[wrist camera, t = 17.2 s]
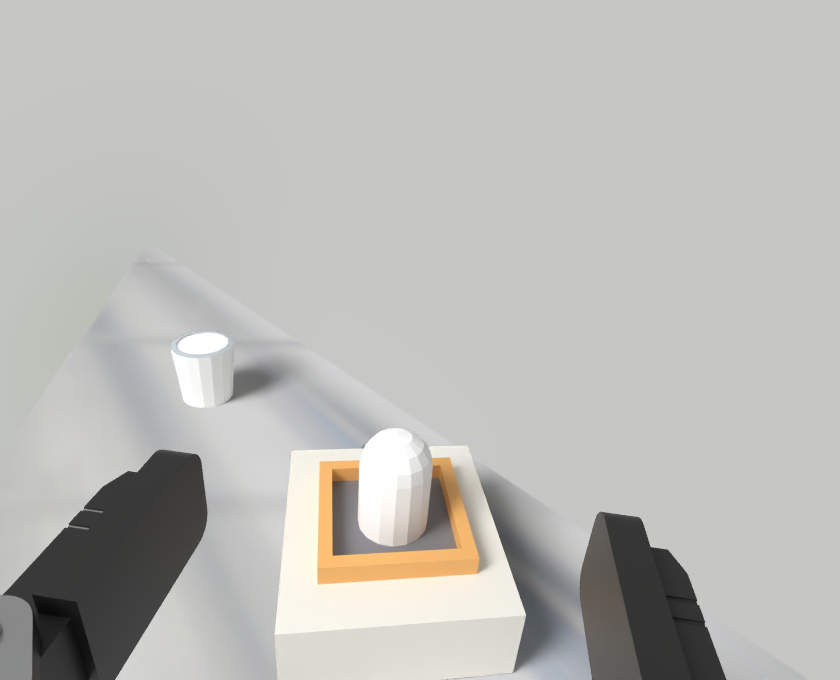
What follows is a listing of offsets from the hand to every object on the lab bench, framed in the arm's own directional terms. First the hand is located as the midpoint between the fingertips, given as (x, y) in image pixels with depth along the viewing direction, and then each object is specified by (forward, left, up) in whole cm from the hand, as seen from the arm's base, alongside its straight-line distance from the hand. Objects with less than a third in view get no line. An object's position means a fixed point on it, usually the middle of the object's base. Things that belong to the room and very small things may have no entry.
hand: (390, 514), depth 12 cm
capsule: (-4, -24, -24) cm, 34 cm away
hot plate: (-4, -26, -30) cm, 40 cm away
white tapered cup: (+15, -52, -30) cm, 62 cm away
